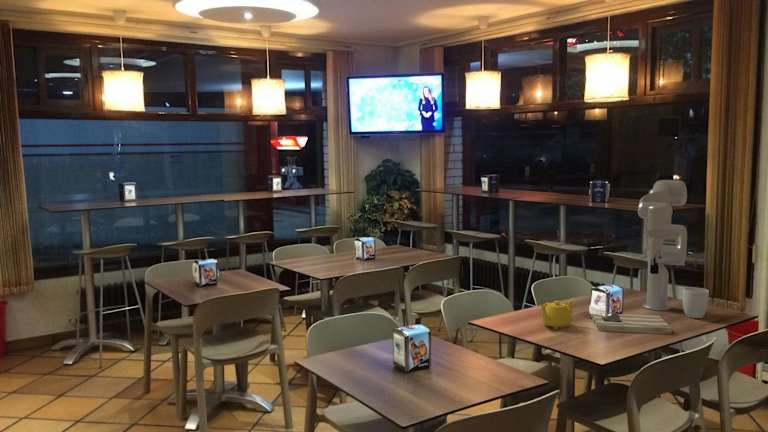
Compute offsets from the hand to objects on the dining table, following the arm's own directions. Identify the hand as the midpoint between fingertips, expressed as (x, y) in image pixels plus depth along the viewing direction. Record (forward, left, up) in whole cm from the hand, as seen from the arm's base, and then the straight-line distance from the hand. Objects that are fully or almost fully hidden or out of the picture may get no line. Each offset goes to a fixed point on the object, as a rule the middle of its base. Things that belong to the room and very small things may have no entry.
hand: (654, 273), depth 292 cm
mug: (-16, +24, -23) cm, 37 cm away
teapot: (+10, -43, -23) cm, 50 cm away
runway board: (+5, -10, -23) cm, 26 cm away
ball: (+5, -18, -20) cm, 27 cm away
